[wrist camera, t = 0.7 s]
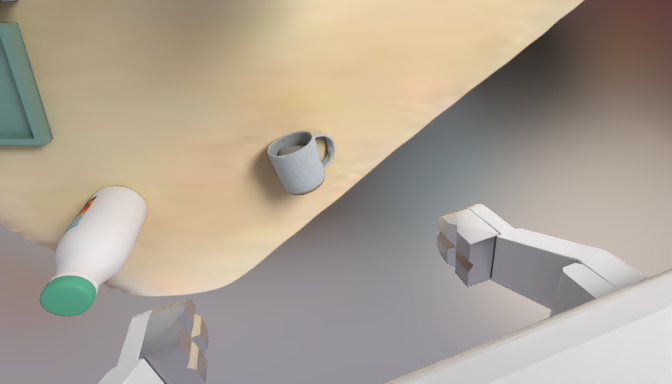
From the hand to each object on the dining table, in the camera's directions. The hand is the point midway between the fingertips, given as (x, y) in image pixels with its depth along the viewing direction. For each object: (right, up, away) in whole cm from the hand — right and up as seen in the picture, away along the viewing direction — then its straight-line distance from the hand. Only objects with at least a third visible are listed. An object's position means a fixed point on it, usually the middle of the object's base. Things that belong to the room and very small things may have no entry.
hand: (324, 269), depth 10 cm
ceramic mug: (-6, +9, +45) cm, 46 cm away
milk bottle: (-33, 0, +41) cm, 53 cm away
